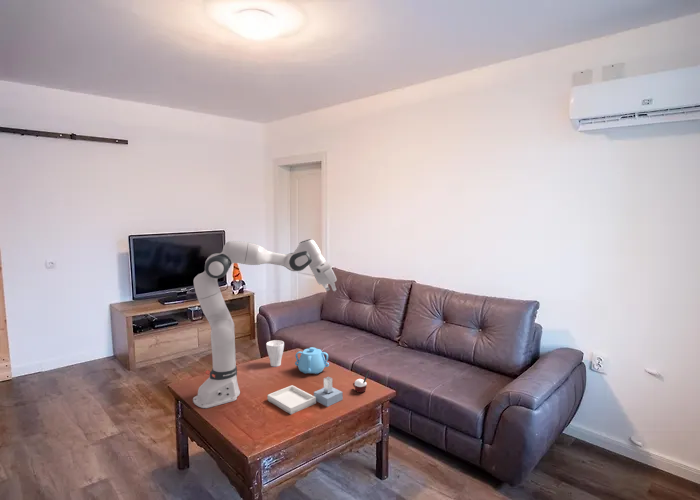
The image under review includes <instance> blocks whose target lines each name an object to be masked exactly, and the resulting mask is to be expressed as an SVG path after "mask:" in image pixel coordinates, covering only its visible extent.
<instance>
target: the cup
mask: <svg viewBox="0 0 700 500" xmlns="http://www.w3.org/2000/svg"><path fill="white" fill-rule="evenodd" d="M265 345H266V350H267V355H268V357H269V363H270V366H271V367H273V368H274V367H275V368H276V367H280V366H281V365H282V358H283V354H284V348H285V342H284V341H283V340H277V339H274V340H270V341H267V342H266V344H265Z"/></svg>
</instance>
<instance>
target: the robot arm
mask: <svg viewBox="0 0 700 500" xmlns="http://www.w3.org/2000/svg"><path fill="white" fill-rule="evenodd" d="M206 258H207V259H206V260H205V262H204V263H205V264H204V271H203V272H201V273H198V274H197V275H196V276H195V277H194V278H193V287H194V292H195V294H196V295H195V296H196V299H197V301H198V302H199V305H200V308H201V310H202V313H203V315H204V317H205V318H206V320H207V322H208V324H209V326H210V346H211V353H212V369H211V371H210V370H209V369H207V370H206V371H204V372H205V374H206V375H209V377H208V378H207V379H206V380H205V381H204V382H203V383H202V384H201V385H200V386H199V387H198V390H197V395H196V396H194V397H193V398H192V403H193V404H194V405H196V406H197V407H199V408H201V409H209V408H213V407H217V406H220V405H223V404H227V403H231V402H234V401H237V398H238V396H240V394H241V391H240V387H239V383H238V378H237V377H238V369H237V368H238V367H237V365H236V364H237V363H236V361H237V357H236V339H235V338H236V337H235V322H234V319H233V318H232V315H231V312H230V311H229V309H228V307H227V304H226V301H225V299H224V296H223V294H222V291H221V289H220V286H219V282H218V279H221V278H223V277H225V276H226V274H228V272H229V270H230V268H231V266H232V264H239V265H240V264H241V265H248V266H258V265H264V264H267V265H268V264H269V265H276V266H281V267H284V268H286V269H287V270H289V271H291V272H301V271H304V269H306V268H307V267H308V266H309V268H310V270H311V272H312V275H314V278H315V280H316V282H317V284H318V285H322V286H323V288H324V289H325V291H326V292H329V291H330V290H332V291H333V292H336V291H337V286H336V282H337V280H338V279H337V276H336V274H335V272H334V270H333V268H332V264H331V263H330V262H328V261H327V260H326V259H325V257H324V256H323V254H322V251H321V249H320V247H319V246H318V244H317V243H316V242H315V240H314V239H311V238H310V239H305V240H302V241H300V242H299V243H298V245H297V247H296V249H295V250H294V251H293V252H290V253H280V252H274V251H270V250H268V249H266V248H265V247H263V246H262V245H259V244H257V243H254V242H249V241H241V240H230V241H229V240H228V241H226V242H225V244H224V245H223V248H222V250H221V252H214V253H212V254H210V255H208V257H206ZM329 285H330V286H331V288H330V286H329Z"/></svg>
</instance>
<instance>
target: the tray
mask: <svg viewBox="0 0 700 500" xmlns="http://www.w3.org/2000/svg"><path fill="white" fill-rule="evenodd" d="M266 397H267V401H268V402H269V403H271V404H273V405H274V406H276V407H278V408H279V409H281V410H283V411H284V412H286V413H288V414H289V415H293V414H296V413H297V412H300V411H302V410H304V409H307V408H309V407H311V406H314V405H315V404H317V401H316V397H314V395H312V394H310V393H309V392H307V391H304V390H303V389H301V388H299V387H297V386H295V385H293V384H292V385H289V386H286V387H284V388H281V389H278V390H276V391H274V392H271V393H269V394H267V395H266Z"/></svg>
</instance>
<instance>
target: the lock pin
mask: <svg viewBox="0 0 700 500" xmlns="http://www.w3.org/2000/svg"><path fill="white" fill-rule="evenodd" d="M332 387H333V377H330V376H327V377H323V388H324V393H325V394H330V393H332Z"/></svg>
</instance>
